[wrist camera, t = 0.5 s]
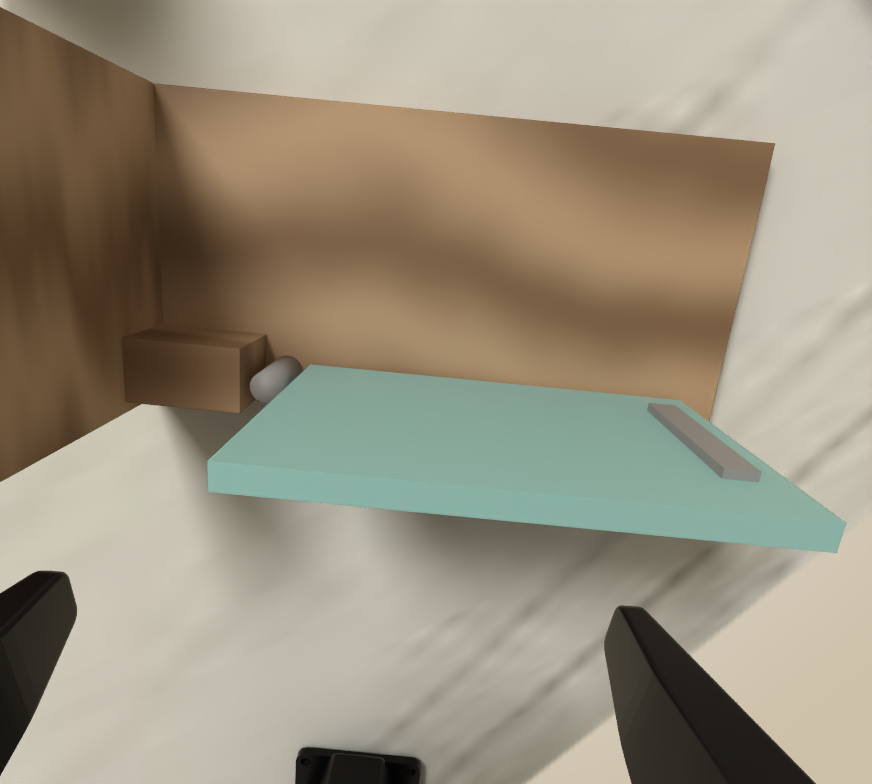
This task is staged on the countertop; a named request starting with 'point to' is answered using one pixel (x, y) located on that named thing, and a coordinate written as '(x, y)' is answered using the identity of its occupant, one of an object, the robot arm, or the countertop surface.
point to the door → (511, 457)
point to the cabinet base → (341, 246)
